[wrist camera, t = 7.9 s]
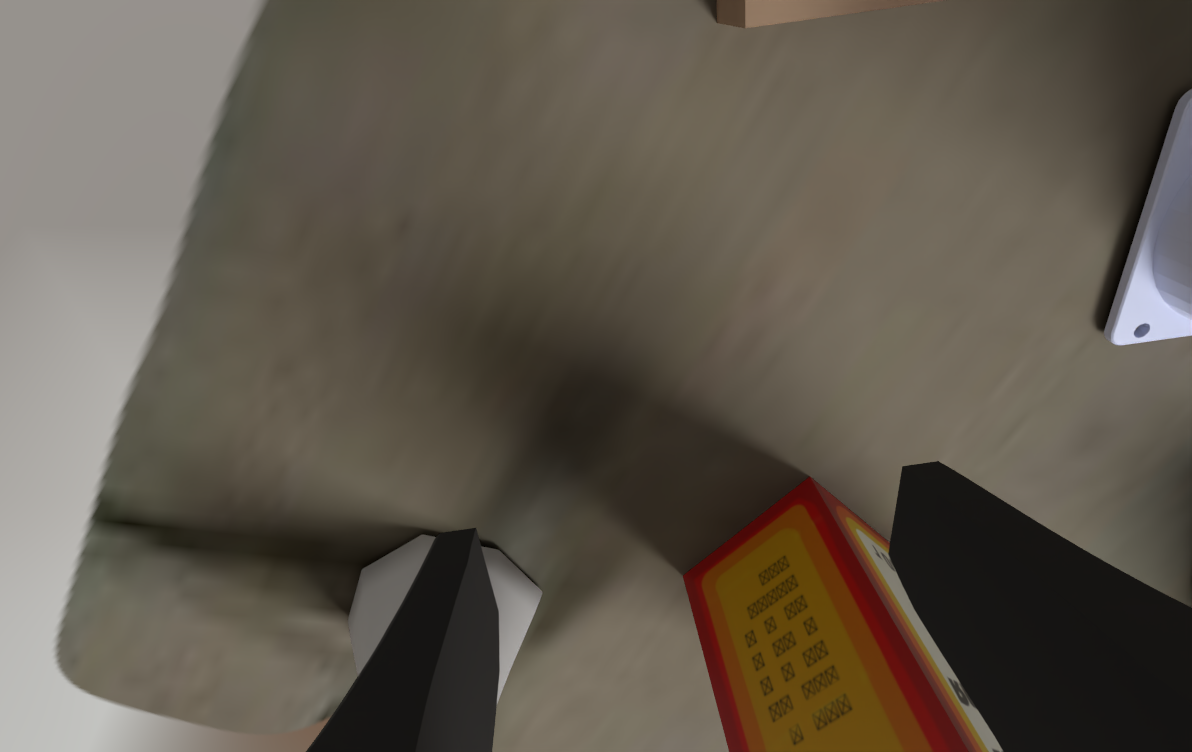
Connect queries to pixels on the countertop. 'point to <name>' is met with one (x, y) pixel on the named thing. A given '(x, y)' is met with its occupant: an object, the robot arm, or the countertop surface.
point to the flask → (394, 577)
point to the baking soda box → (823, 640)
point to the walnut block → (796, 10)
